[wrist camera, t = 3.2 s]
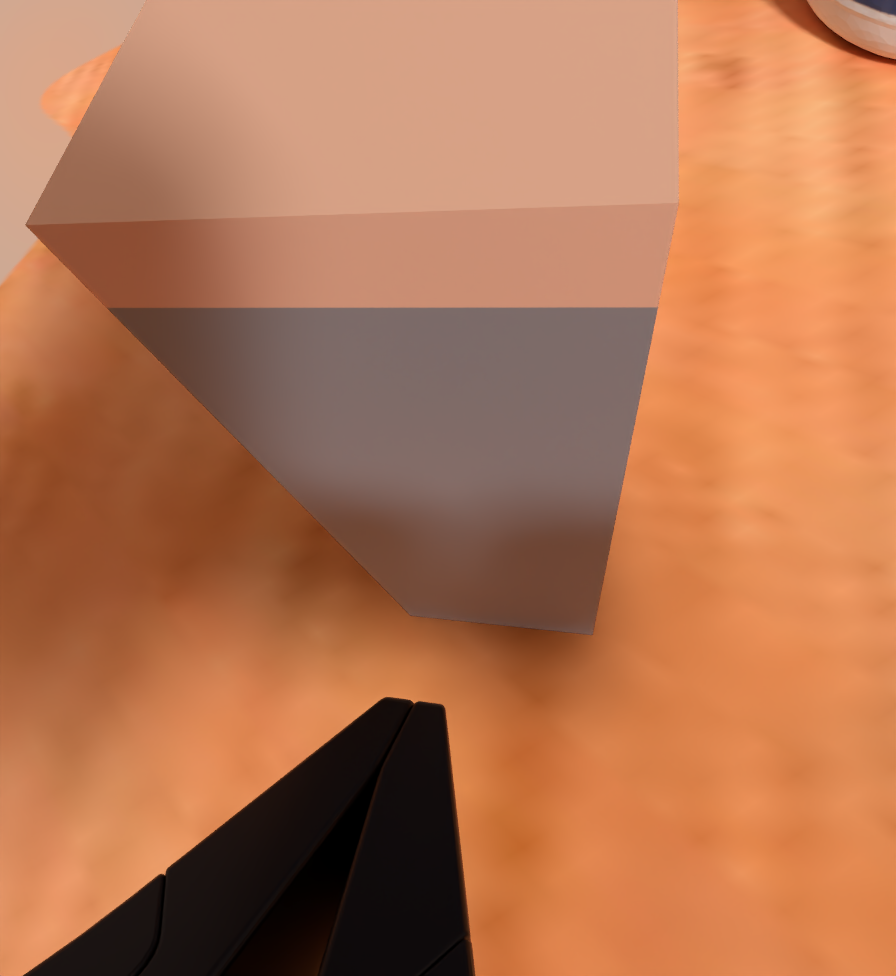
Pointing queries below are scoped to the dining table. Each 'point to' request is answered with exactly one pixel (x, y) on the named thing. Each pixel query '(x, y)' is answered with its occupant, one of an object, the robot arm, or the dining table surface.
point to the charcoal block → (399, 265)
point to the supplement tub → (861, 22)
